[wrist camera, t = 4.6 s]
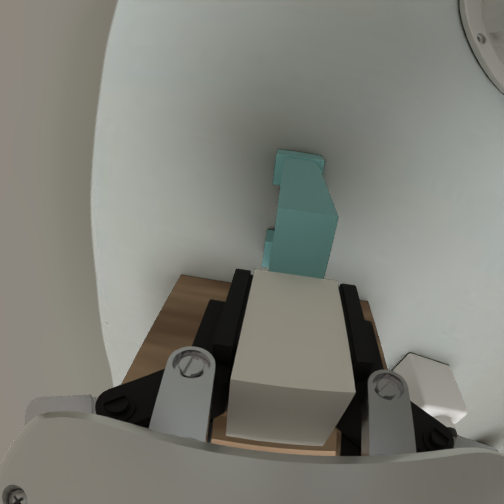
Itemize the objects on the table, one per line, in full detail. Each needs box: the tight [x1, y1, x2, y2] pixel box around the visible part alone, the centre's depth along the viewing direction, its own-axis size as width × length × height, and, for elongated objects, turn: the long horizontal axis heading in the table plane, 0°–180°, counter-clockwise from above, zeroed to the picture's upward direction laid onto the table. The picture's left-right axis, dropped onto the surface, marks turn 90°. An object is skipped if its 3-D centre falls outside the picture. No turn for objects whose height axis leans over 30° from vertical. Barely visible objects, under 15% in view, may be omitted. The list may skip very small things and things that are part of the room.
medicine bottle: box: [392, 353, 467, 437], centre depth 24 cm, size 7×7×12 cm
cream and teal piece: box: [226, 149, 356, 446], centre depth 15 cm, size 8×3×16 cm, turn 174°
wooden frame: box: [121, 275, 388, 456], centre depth 23 cm, size 18×16×14 cm
